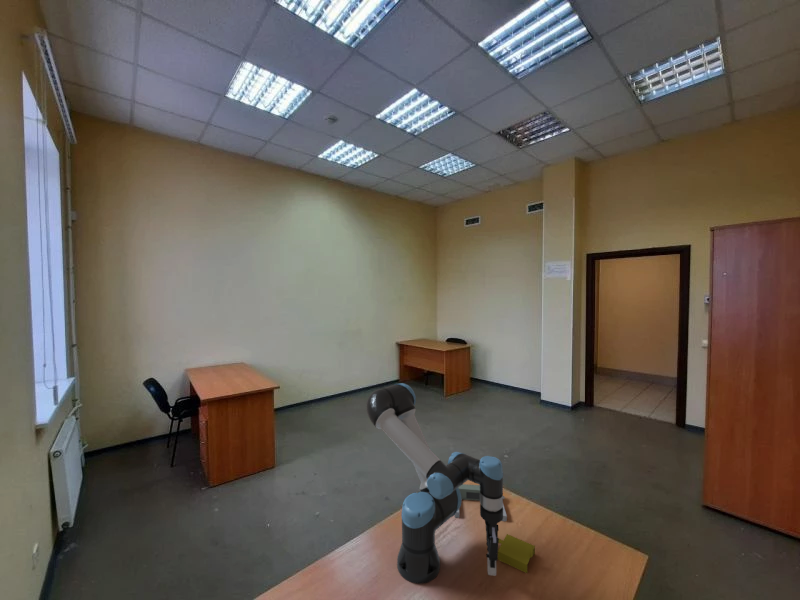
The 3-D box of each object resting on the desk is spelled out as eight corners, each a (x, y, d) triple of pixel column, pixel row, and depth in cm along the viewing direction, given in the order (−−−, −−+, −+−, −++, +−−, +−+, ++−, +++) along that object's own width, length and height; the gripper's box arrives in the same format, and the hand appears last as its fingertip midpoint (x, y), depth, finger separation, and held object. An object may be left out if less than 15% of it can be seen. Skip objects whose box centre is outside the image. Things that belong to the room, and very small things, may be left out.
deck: (454, 517, 144) (454, 503, 143) (453, 493, 160) (453, 481, 160) (506, 521, 141) (506, 507, 141) (499, 496, 158) (499, 484, 158)
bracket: (498, 516, 133) (538, 532, 124) (498, 535, 133) (537, 552, 124) (484, 540, 120) (526, 560, 111) (484, 561, 120) (526, 582, 112)
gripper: (506, 519, 105) (507, 591, 105) (499, 494, 118) (499, 559, 118) (482, 517, 106) (483, 589, 106) (478, 492, 119) (478, 557, 119)
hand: (491, 573), depth 112 cm, fingers closed
